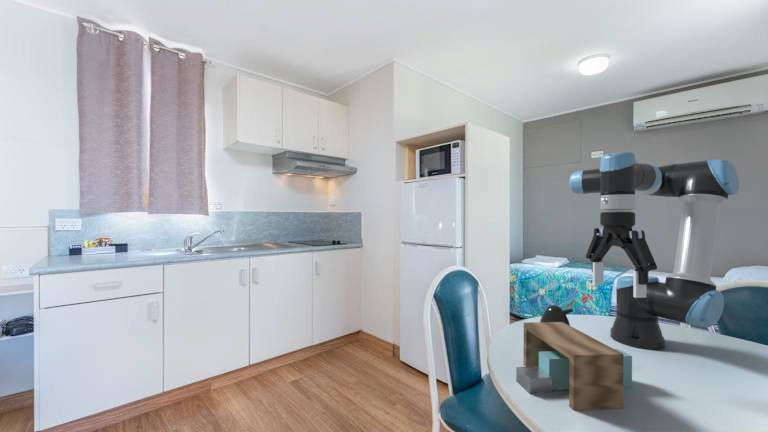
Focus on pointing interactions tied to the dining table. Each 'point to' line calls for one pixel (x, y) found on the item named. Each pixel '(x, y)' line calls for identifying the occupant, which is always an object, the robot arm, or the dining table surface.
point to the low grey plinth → (534, 379)
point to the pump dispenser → (555, 314)
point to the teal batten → (560, 364)
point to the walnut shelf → (579, 364)
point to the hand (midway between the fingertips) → (617, 290)
